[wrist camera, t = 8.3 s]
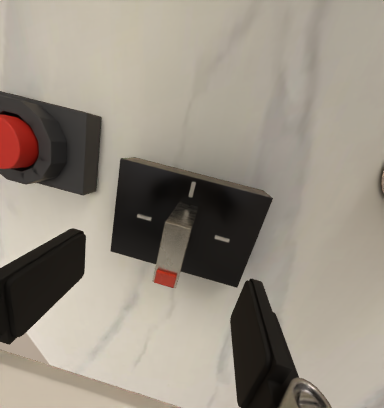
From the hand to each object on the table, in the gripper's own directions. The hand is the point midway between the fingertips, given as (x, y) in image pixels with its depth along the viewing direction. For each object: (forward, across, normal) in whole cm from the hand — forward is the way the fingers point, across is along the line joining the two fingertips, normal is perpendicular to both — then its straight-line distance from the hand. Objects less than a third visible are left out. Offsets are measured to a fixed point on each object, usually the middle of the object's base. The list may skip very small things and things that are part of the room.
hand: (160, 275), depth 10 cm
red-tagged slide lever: (+7, 0, +1) cm, 7 cm away
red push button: (+7, +16, -4) cm, 18 cm away
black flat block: (+10, 0, +1) cm, 11 cm away
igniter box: (+11, +16, -4) cm, 20 cm away
